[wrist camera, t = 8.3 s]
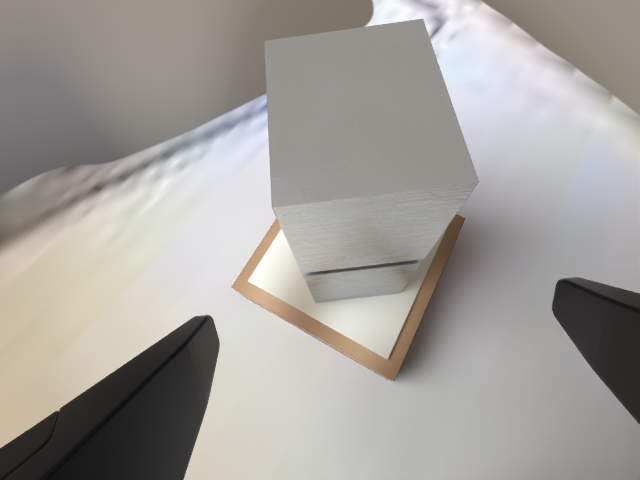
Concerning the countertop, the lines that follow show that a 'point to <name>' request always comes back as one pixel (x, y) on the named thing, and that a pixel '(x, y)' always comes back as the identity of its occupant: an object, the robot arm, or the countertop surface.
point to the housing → (362, 155)
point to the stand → (346, 302)
